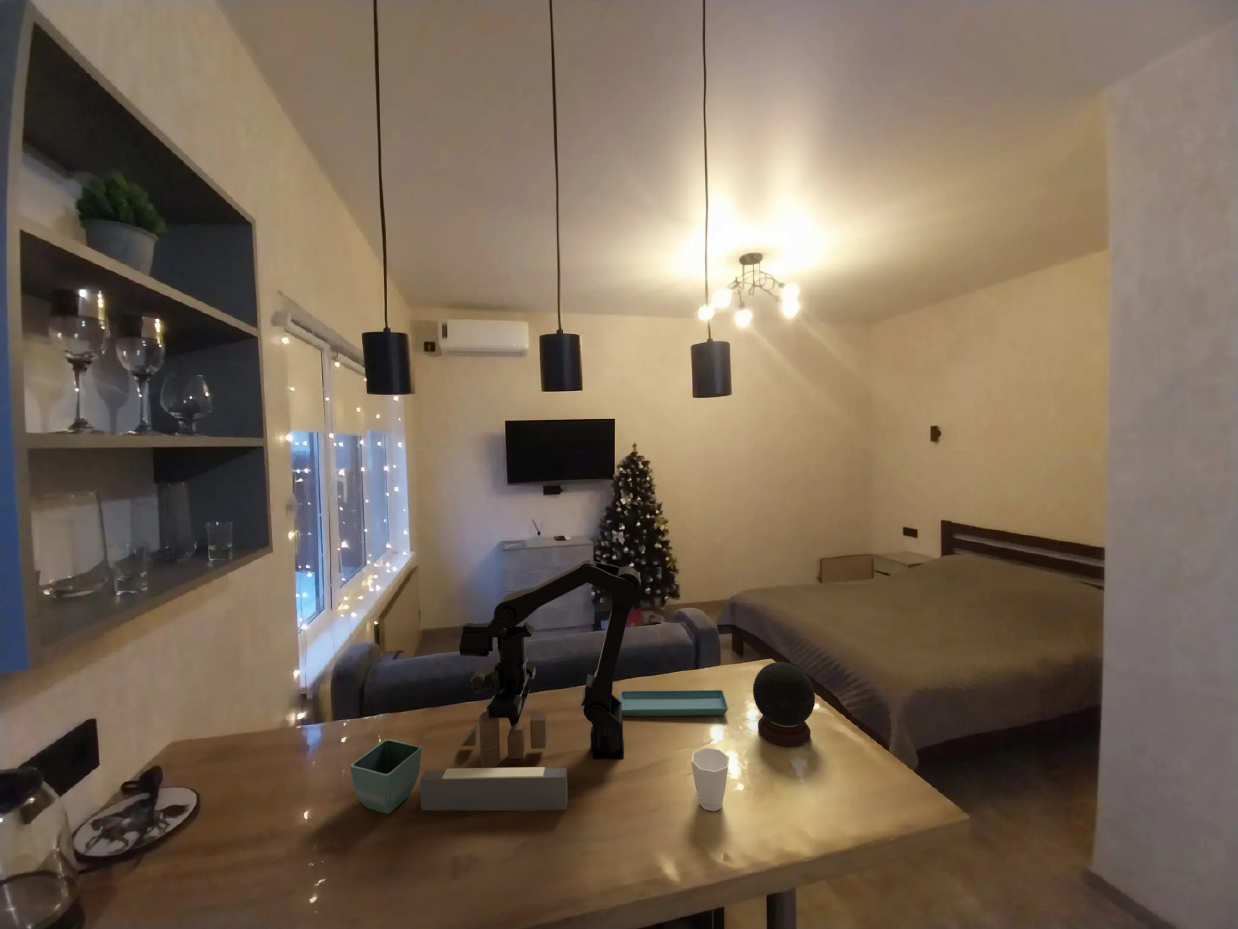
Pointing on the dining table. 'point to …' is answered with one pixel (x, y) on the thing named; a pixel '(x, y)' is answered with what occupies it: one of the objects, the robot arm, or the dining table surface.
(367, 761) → the flower pot
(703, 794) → the cup
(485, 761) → the wooden block set
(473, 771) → the board
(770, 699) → the ball on wooden stand
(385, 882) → the dining table surface
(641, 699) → the shallow long dish
